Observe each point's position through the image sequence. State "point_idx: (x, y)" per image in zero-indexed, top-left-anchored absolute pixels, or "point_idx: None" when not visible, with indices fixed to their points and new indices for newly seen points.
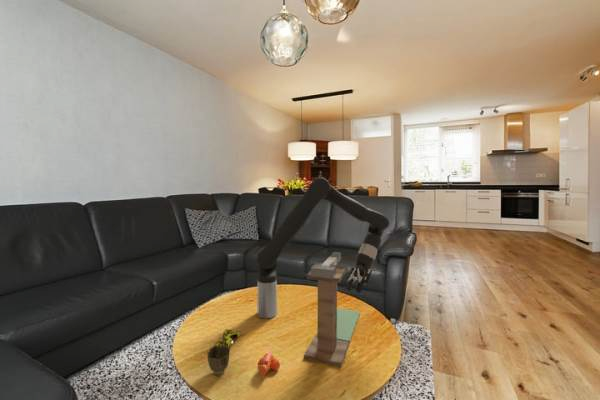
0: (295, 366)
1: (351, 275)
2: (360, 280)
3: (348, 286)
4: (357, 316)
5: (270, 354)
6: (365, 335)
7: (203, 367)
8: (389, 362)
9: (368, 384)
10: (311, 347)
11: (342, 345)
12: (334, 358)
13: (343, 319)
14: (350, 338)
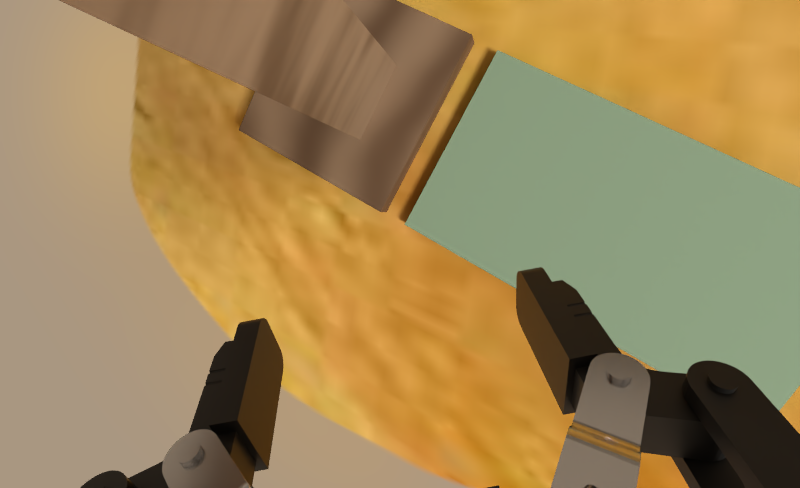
0: None
1: (564, 459)
2: (166, 467)
3: (534, 317)
4: None
5: None
6: (461, 332)
7: None
8: None
9: (163, 207)
10: (359, 3)
11: (355, 169)
12: (269, 107)
13: (658, 265)
14: (426, 235)
